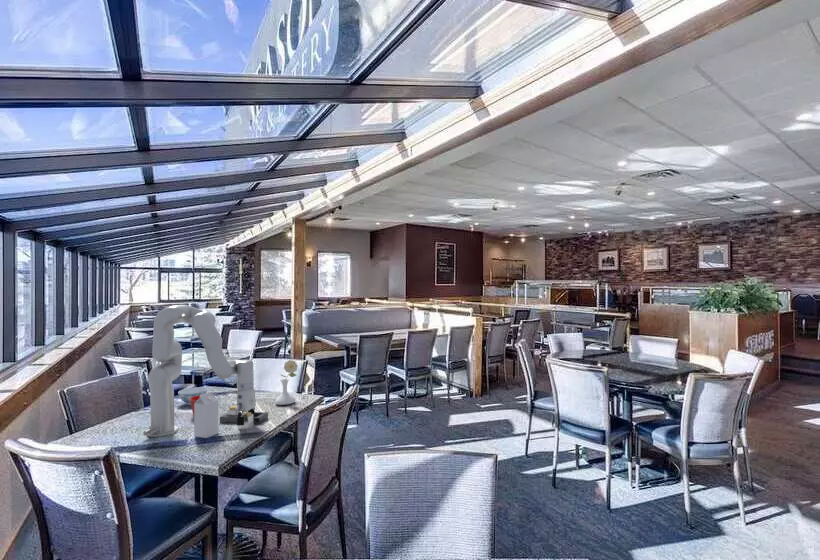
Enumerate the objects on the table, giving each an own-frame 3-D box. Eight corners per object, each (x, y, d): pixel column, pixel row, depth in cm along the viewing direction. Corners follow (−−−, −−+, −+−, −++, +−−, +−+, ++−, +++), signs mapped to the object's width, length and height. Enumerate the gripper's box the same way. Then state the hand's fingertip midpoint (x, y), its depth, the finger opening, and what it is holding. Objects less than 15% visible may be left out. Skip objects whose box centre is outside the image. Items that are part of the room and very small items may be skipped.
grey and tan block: (248, 429, 198) (247, 414, 198) (238, 429, 199) (238, 414, 199) (253, 426, 203) (253, 411, 203) (243, 425, 204) (243, 411, 204)
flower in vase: (273, 407, 234) (273, 362, 235) (275, 401, 246) (274, 359, 246) (298, 405, 238) (297, 361, 238) (298, 400, 249) (297, 357, 249)
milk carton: (194, 436, 190) (193, 394, 190) (207, 431, 197) (206, 391, 197) (206, 438, 188) (205, 396, 188) (218, 433, 194) (218, 392, 194)
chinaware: (174, 404, 245) (174, 390, 245) (200, 398, 256) (200, 385, 256) (184, 408, 235) (184, 394, 235) (211, 402, 246) (211, 389, 246)
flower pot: (193, 420, 214) (192, 401, 214) (188, 415, 223) (188, 396, 223) (215, 415, 221) (215, 397, 221) (209, 411, 229) (209, 393, 229)
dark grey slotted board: (259, 424, 206) (259, 418, 206) (219, 422, 209) (219, 416, 209) (268, 418, 215) (268, 412, 215) (230, 417, 218) (229, 411, 218)
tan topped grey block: (236, 422, 210) (236, 408, 210) (227, 421, 211) (227, 407, 211) (241, 419, 215) (241, 405, 215) (232, 418, 216) (232, 405, 216)
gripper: (243, 390, 192) (243, 428, 192) (261, 381, 209) (262, 416, 209) (227, 390, 193) (228, 427, 193) (247, 381, 211) (248, 416, 210)
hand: (246, 421), depth 201 cm, fingers open, 9 cm apart
